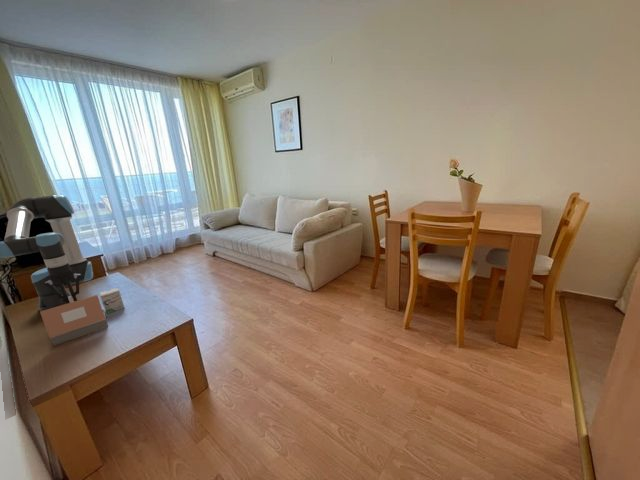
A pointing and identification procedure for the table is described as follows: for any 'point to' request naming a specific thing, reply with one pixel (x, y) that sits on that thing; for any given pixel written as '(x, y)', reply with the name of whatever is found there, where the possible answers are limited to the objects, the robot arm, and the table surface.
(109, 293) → the ink box
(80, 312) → the lid
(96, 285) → the table surface
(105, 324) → the box
